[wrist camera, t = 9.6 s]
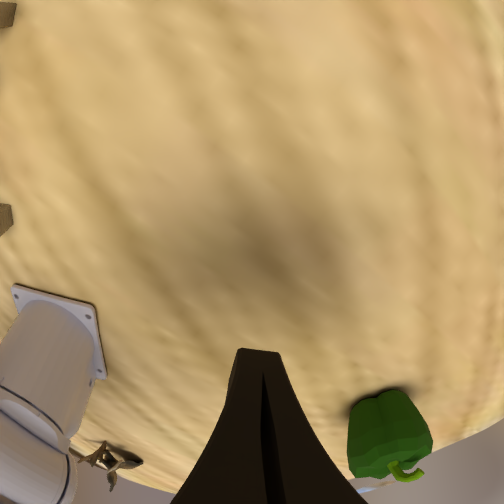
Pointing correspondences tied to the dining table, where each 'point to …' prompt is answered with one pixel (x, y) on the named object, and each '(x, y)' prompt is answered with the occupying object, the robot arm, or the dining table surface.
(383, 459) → the bell pepper
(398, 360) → the dining table surface
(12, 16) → the motor mount
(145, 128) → the dining table surface
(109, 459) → the eagle figurine
